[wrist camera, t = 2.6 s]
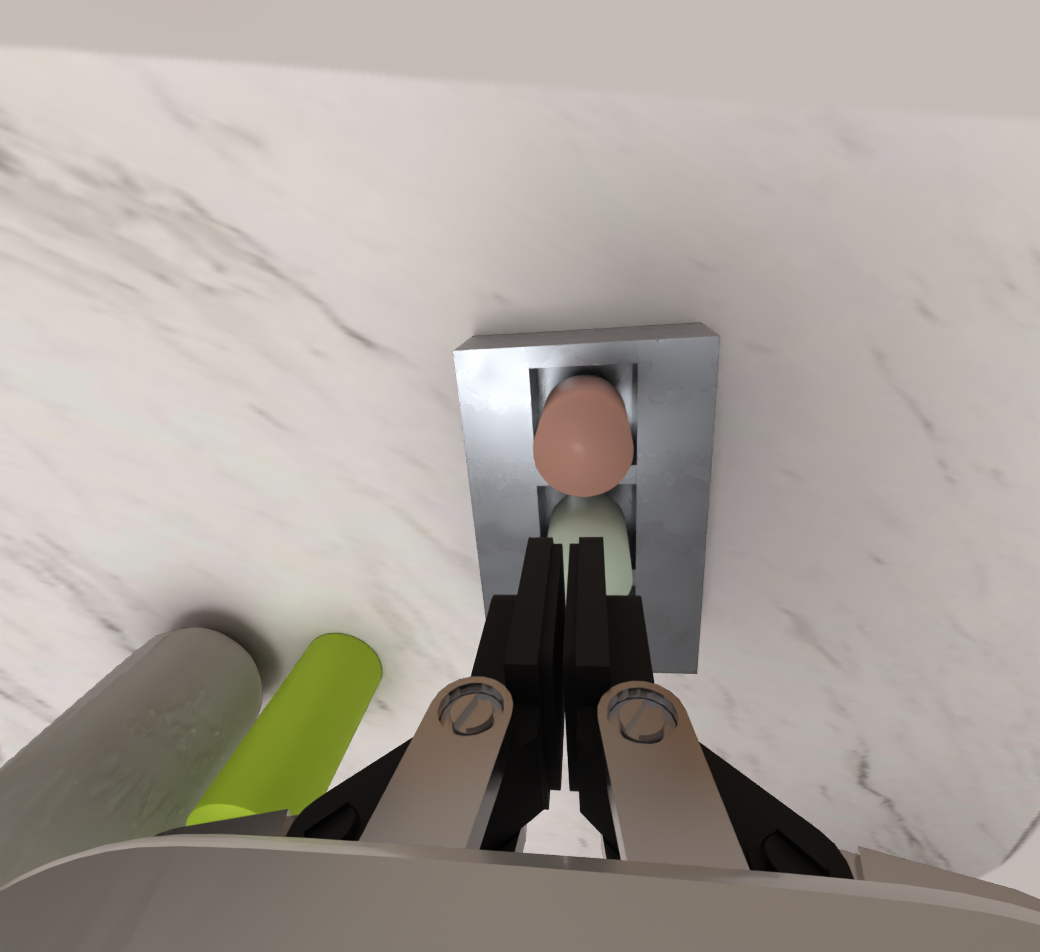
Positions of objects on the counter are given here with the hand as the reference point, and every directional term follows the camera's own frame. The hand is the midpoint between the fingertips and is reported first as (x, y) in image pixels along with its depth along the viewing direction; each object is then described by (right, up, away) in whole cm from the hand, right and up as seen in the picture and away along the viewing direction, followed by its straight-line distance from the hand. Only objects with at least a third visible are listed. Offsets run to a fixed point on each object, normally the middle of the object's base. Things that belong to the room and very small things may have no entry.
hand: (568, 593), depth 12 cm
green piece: (+2, 0, +16) cm, 16 cm away
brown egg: (+2, +6, +14) cm, 15 cm away
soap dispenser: (-14, -11, +28) cm, 33 cm away
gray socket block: (+3, +2, +20) cm, 20 cm away
